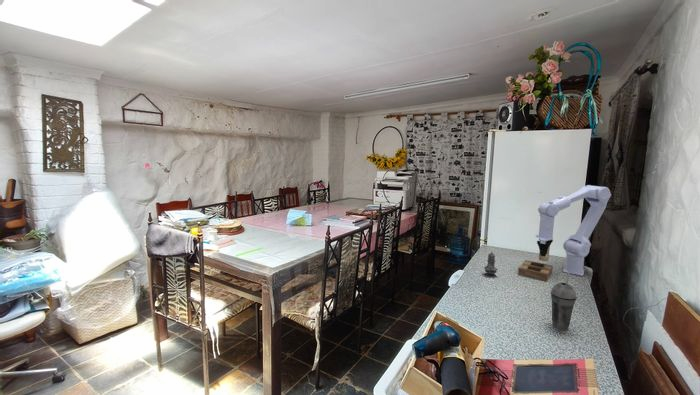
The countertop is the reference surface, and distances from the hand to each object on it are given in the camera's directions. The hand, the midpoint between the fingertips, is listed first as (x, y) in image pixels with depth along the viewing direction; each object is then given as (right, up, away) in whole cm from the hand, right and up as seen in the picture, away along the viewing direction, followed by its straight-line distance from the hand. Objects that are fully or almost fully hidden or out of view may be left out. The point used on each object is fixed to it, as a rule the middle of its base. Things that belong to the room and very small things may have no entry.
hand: (543, 254), depth 149 cm
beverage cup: (-23, -16, -45) cm, 53 cm away
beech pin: (0, -2, 0) cm, 2 cm away
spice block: (-4, -9, +1) cm, 10 cm away
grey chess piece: (-27, -10, -1) cm, 29 cm away
